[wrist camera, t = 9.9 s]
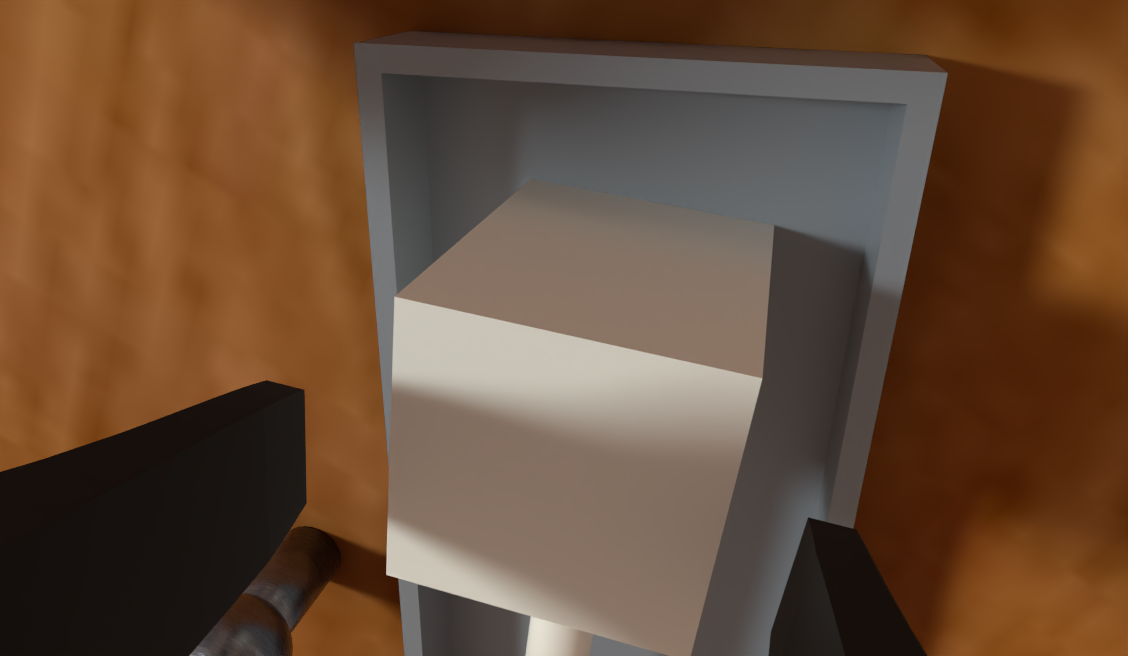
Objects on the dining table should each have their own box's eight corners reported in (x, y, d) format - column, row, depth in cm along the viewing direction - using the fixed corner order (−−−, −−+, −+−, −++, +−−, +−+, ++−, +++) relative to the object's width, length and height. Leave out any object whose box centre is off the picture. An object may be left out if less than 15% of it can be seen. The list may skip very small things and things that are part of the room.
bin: (410, 30, 17) (353, 42, 15) (925, 55, 15) (947, 73, 13) (448, 716, 25) (415, 789, 23) (780, 795, 23) (779, 884, 21)
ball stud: (259, 501, 24) (121, 642, 19) (354, 519, 23) (237, 670, 18) (273, 582, 25) (146, 734, 20) (363, 601, 24) (256, 763, 19)
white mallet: (531, 178, 17) (393, 297, 11) (774, 225, 16) (761, 378, 10) (485, 624, 23) (377, 858, 17) (664, 676, 22) (616, 941, 16)
